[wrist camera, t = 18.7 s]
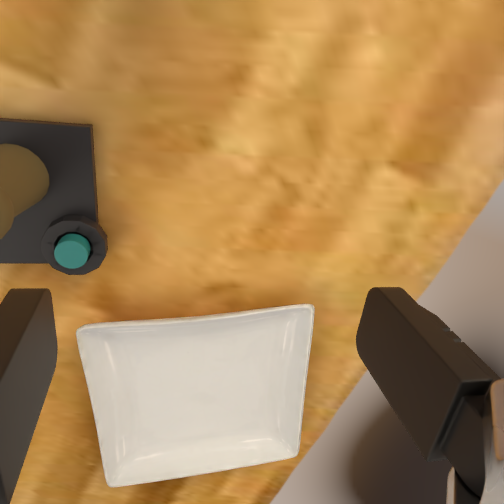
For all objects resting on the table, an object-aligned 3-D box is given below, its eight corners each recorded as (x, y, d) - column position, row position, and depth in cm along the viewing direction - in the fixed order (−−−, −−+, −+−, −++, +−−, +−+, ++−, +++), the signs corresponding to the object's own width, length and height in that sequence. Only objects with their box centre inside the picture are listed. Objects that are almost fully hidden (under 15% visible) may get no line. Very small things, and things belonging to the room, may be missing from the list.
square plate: (292, 437, 63) (299, 460, 60) (109, 466, 58) (106, 492, 55) (307, 290, 51) (318, 307, 48) (79, 309, 46) (72, 329, 43)
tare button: (56, 233, 39) (52, 240, 38) (89, 233, 40) (86, 241, 38) (59, 260, 40) (55, 268, 39) (91, 260, 41) (88, 268, 39)
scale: (-54, 113, 35) (-71, 119, 33) (103, 125, 38) (98, 131, 35) (-23, 261, 41) (-36, 275, 39) (110, 261, 44) (106, 274, 42)
